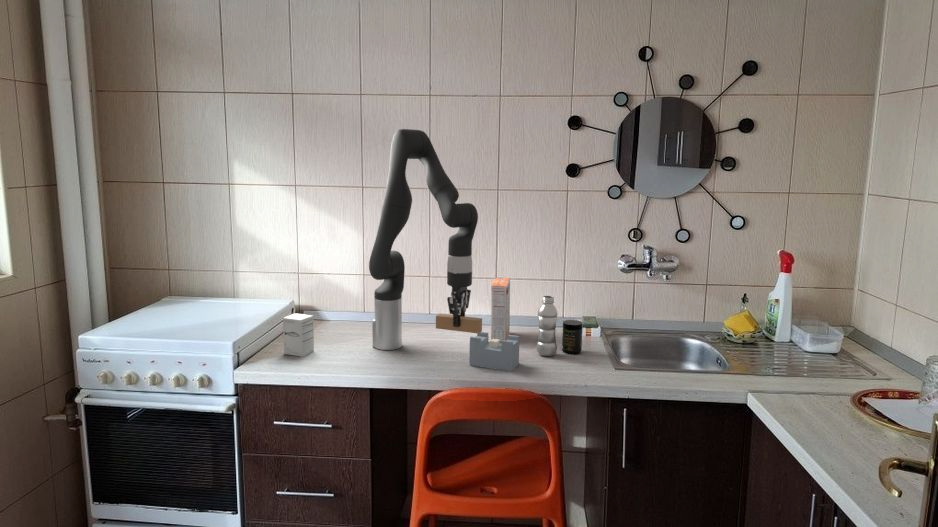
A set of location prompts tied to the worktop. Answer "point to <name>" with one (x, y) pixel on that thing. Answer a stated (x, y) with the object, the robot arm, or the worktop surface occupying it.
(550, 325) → the plastic bottle
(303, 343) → the supplement box
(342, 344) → the worktop surface
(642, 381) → the worktop surface
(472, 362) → the notched gray block
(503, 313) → the cracker box
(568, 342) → the supplement container
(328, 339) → the worktop surface
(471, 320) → the frame bar
